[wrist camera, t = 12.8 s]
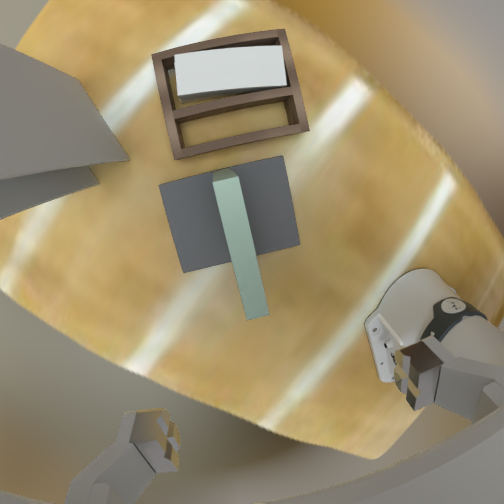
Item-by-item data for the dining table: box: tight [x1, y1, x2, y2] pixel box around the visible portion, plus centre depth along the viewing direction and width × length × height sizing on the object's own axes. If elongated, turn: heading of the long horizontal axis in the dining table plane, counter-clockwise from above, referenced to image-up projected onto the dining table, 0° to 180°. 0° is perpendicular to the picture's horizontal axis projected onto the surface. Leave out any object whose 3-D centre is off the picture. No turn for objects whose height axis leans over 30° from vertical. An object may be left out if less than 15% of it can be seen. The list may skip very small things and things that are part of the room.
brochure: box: [0, 44, 130, 220], centre depth 22 cm, size 14×6×30 cm, turn 33°
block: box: [212, 168, 269, 320], centre depth 33 cm, size 2×12×16 cm, turn 12°
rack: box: [152, 29, 310, 160], centre depth 35 cm, size 13×16×5 cm
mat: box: [159, 156, 300, 273], centre depth 41 cm, size 12×16×1 cm
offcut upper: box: [174, 46, 287, 100], centre depth 33 cm, size 5×12×3 cm, turn 96°
